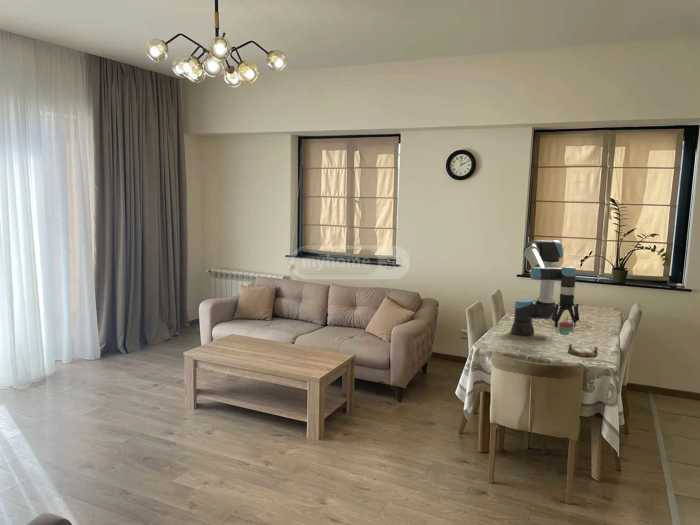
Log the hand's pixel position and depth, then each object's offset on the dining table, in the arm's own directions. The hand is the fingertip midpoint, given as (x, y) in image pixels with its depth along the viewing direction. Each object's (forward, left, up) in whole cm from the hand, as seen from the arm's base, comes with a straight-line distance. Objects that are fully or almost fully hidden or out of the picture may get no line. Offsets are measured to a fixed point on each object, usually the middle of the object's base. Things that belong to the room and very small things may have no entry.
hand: (564, 332), depth 301 cm
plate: (+17, +7, -15) cm, 24 cm away
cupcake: (0, 0, -1) cm, 1 cm away
